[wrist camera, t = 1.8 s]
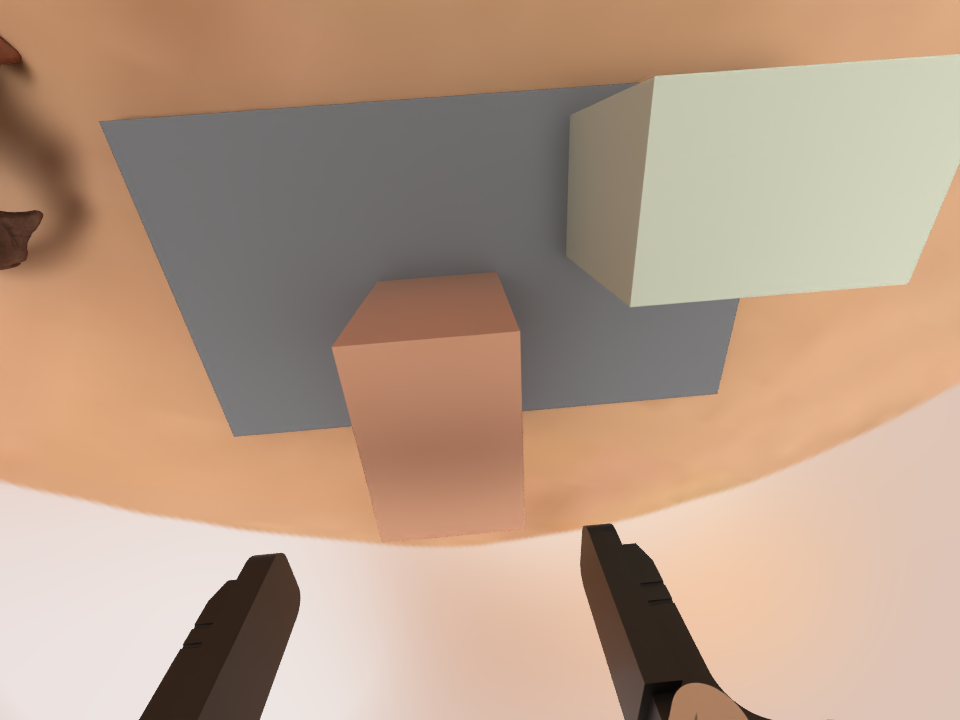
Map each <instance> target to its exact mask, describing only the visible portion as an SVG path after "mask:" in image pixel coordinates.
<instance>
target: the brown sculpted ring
mask: <svg viewBox="0 0 960 720" xmlns="http://www.w3.org/2000/svg"><path fill="white" fill-rule="evenodd" d="M20 60H21V56H20V54H19V53H18V52H17V51H16V50H15V49H14V48H13V47H12V46H10V45H9V44H7V43H6V42H5V41H3V40H2V39H1V38H0V65H1V64H10V63H14V62H19V61H20ZM42 218H43V213H42V212H40V211H37V210H33V211H28V212H3V211H0V270H4V269H8V268H13V267H16V266H19V265H20V264H21V263H20V262H23V261H25V260H26V259H27V255H28V251H27V243H28V240H29V238H30V237H31V234H32V233H33V232H34V231H35V230H36V229H37V227H38V226H39V224H40V222H41V220H42Z"/></svg>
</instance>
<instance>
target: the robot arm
mask: <svg viewBox="0 0 960 720" xmlns="http://www.w3.org/2000/svg"><path fill="white" fill-rule="evenodd" d="M580 566H581V576H582V581H583V585H584V589H585V592H586V595H587V599H588V602H589V605H590V609H591V612H592V615H593V618H594V621H595V625H596V628H597V631H598V634H599V638H600V641H601V644H602V647H603V651H604V654H605V657H606V660H607V664H608V667H609V670H610V673H611V677H612V680H613V683H614V686H615V690H616V693H617V696H618V699H619V702H620V706H621V709H622V712H623V715H624V719H625V720H770V719H766V718H764V717H761V716H758V715H756V714H753V713H751V712H750V711H748V710H746V709H745V708H743V707H741V706H740V705H739V704H737V703H736V702H734V701H733V700H732V699H731V698H730V697H729V696H728V695H727V694H726V693H725V692H724V691H723V690H722V689H721V688H720V687H719V685H718V684H717V683H716V681H715V680H714V679H713V677H712V675H711V674H710V672H709V670H708V668H707V666H706V664H705V662H704V660H703V658H702V656H701V655H700V652H699V650H698V649H697V647H696V645H695V643H694V641H693V639H692V637H691V635H690V633H689V631H688V629H687V627H686V625H685V623H684V621H683V619H682V617H681V615H680V613H679V611H678V609H677V607H676V605H675V603H673V601H672V597H671V596H670V593H669V592H668V590H667V588H666V586H665V585H664V584H663V580H662V578H661V576H660V574H659V572H658V570H657V568H656V566H655V564H654V562H653V560H652V559H651V558H650V557H649V556H648V555H647V554H646V553H645V552H644V551H643V550H642V549H641V548H639V546H638V545H637V544H636V543H635V544H624V545H622V543H621V541H620V538H619V536H618V534H617V532H616V530H615V528H614V526H613V525H612V524H599V525H589V526H583V529H582V544H581V560H580ZM299 606H300V590H299V587H298V585H297V582H296V579H295V577H294V575H293V572H292V570H291V567H290V565H289V562H288V560H287V558H286V556H285V554H283V553H276V554H266V555H255V556H252V557H250V558H249V559H248V560H247V562H246V563H245V566H244V567H243V569H242V571H241V573H240V574H239V576H238V578H237V580H229V581H227V582H226V583H225V584H224V585H223V586H222V587H221V589H220V590H219V591H218V592H217V593H216V594H215V595H214V596H213V597H212V598H211V599H210V600H209V601H208V603H207V604H206V606H205V608H204V609H203V611H202V613H201V615H200V616H199V618H198V620H197V621H196V623H195V628H194V629H192V630H191V632H190V634H189V635H188V637H187V639H186V640H185V642H184V644H183V648H182V649H180V651H179V653H178V654H177V656H176V657H175V659H174V661H173V663H172V664H171V666H170V668H169V670H168V671H167V673H166V675H165V676H164V678H163V680H162V682H161V683H160V685H159V687H158V688H157V690H156V692H155V694H154V695H153V697H152V699H151V700H150V702H149V704H148V705H147V707H146V709H145V711H144V712H143V714H142V716H141V717H140V719H139V720H260V717H261V715H262V712H263V709H264V706H265V703H266V701H267V698H268V695H269V692H270V689H271V687H272V684H273V681H274V678H275V676H276V673H277V670H278V667H279V665H280V662H281V659H282V656H283V654H284V651H285V648H286V645H287V643H288V640H289V637H290V634H291V632H292V628H293V626H294V623H295V621H296V618H297V615H298V611H299Z"/></svg>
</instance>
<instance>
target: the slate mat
mask: <svg viewBox="0 0 960 720" xmlns="http://www.w3.org/2000/svg"><path fill="white" fill-rule="evenodd" d="M639 83H641V82H639ZM639 83H625V84H611V85H597V86H584V87H570V88H556V89H542V90H528V91H514V92H500V93H487V94H473V95H459V96H445V97H431V98H417V99H403V100H390V101H376V102H362V103H348V104H334V105H320V106H306V107H293V108H279V109H265V110H251V111H237V112H223V113H210V114H196V115H182V116H168V117H154V118H140V119H126V120H113V121H99V122H100V125H101V127H102V129H103V132H104V134H105V136H106V139H107V141H108V143H109V146H110V148H111V150H112V153H113V155H114V157H115V160H116V162H117V164H118V167H119V169H120V171H121V174H122V176H123V178H124V181H125V183H126V185H127V188H128V190H129V192H130V195H131V197H132V199H133V202H134V204H135V206H136V209H137V211H138V213H139V216H140V218H141V220H142V223H143V225H144V227H145V230H146V232H147V234H148V237H149V239H150V241H151V244H152V246H153V248H154V251H155V253H156V255H157V258H158V260H159V262H160V265H161V267H162V269H163V272H164V274H165V276H166V279H167V281H168V283H169V286H170V288H171V290H172V293H173V295H174V297H175V300H176V302H177V304H178V307H179V309H180V311H181V314H182V316H183V318H184V321H185V323H186V325H187V328H188V330H189V332H190V335H191V337H192V339H193V342H194V344H195V346H196V349H197V351H198V353H199V356H200V358H201V360H202V363H203V365H204V367H205V370H206V372H207V374H208V377H209V379H210V381H211V384H212V386H213V388H214V391H215V393H216V395H217V398H218V400H219V402H220V405H221V407H222V409H223V412H224V414H225V416H226V419H227V421H228V423H229V426H230V428H231V430H232V433H233V435H234V437H237V436H248V435H259V434H270V433H282V432H293V431H304V430H316V429H327V428H338V427H349V426H352V424H351V420H350V416H349V412H348V408H347V405H346V401H345V397H344V393H343V389H342V385H341V382H340V378H339V374H338V370H337V366H336V362H335V358H334V355H333V351H332V346H333V344H334V343H335V342H336V340H337V339H338V337H339V336H340V334H341V333H342V331H343V330H344V329H345V327H346V326H347V324H348V323H349V321H350V320H351V318H352V317H353V316H354V314H355V313H356V311H357V310H358V308H359V307H360V306H361V304H362V303H363V301H364V300H365V298H366V297H367V295H368V294H369V293H370V291H371V290H372V288H373V287H374V285H375V284H376V282H377V281H390V280H402V279H414V278H427V277H439V276H451V275H463V274H476V273H488V272H497V274H498V276H499V279H500V282H501V284H502V287H503V289H504V292H505V294H506V297H507V299H508V302H509V304H510V307H511V309H512V312H513V314H514V317H515V319H516V322H517V325H518V327H519V330H520V346H521V387H522V411H530V410H541V409H553V408H564V407H575V406H587V405H598V404H609V403H620V402H632V401H643V400H654V399H666V398H677V397H688V396H699V395H711V394H717V393H718V388H719V384H720V380H721V375H722V371H723V367H724V363H725V358H726V354H727V350H728V346H729V341H730V337H731V333H732V329H733V324H734V320H735V316H736V311H737V307H738V303H739V299H740V298H734V299H722V300H710V301H698V302H686V303H674V304H662V305H650V306H639V307H629V306H628V305H627V304H625V303H624V302H623V301H622V300H620V299H619V298H618V297H617V296H615V295H614V294H613V293H612V292H610V291H609V290H608V289H607V288H605V287H604V286H603V285H602V284H600V283H599V282H598V281H597V280H595V279H594V278H593V277H592V276H590V275H589V274H588V273H587V272H585V271H584V270H583V269H581V268H580V267H579V266H578V265H576V264H575V263H574V262H573V261H571V260H570V259H569V258H568V257H566V238H567V204H568V170H569V135H570V115H572V114H574V113H576V112H578V111H580V110H583V109H585V108H587V107H589V106H591V105H593V104H596V103H598V102H600V101H602V100H604V99H606V98H609V97H611V96H613V95H615V94H617V93H619V92H621V91H624V90H626V89H628V88H630V87H632V86H634V85H637V84H639Z"/></svg>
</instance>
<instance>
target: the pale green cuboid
mask: <svg viewBox="0 0 960 720" xmlns="http://www.w3.org/2000/svg"><path fill="white" fill-rule="evenodd" d="M959 163H960V54H954V55H940V56H926V57H912V58H899V59H885V60H871V61H857V62H843V63H829V64H815V65H801V66H787V67H773V68H760V69H746V70H732V71H718V72H704V73H690V74H676V75H662V76H654V77H652V78H649V79H647V80H645V81H643V82H641V83H639V84H637V85H634V86H632V87H630V88H628V89H626V90H624V91H621V92H619V93H617V94H615V95H613V96H611V97H609V98H606V99H604V100H602V101H600V102H598V103H596V104H593V105H591V106H589V107H587V108H585V109H583V110H580V111H578V112H576V113H574V114H572V115H570V135H569V170H568V204H567V238H566V257H568V258H569V259H570V260H571V261H573V262H574V263H575V264H576V265H578V266H579V267H580V268H581V269H583V270H584V271H585V272H587V273H588V274H589V275H590V276H592V277H593V278H594V279H595V280H597V281H598V282H599V283H600V284H602V285H603V286H604V287H605V288H607V289H608V290H609V291H610V292H612V293H613V294H614V295H615V296H617V297H618V298H619V299H620V300H622V301H623V302H624V303H625V304H627V305H628V306H629V307H639V306H650V305H662V304H674V303H686V302H698V301H710V300H722V299H734V298H746V297H758V296H770V295H782V294H794V293H806V292H818V291H830V290H842V289H854V288H865V287H877V286H889V285H901V284H908V283H909V280H910V278H911V276H912V273H913V271H914V269H915V266H916V264H917V262H918V259H919V257H920V255H921V252H922V250H923V248H924V245H925V243H926V240H927V238H928V236H929V233H930V231H931V229H932V226H933V224H934V222H935V219H936V217H937V215H938V212H939V210H940V208H941V205H942V203H943V200H944V198H945V196H946V193H947V191H948V189H949V186H950V184H951V182H952V179H953V177H954V175H955V172H956V170H957V168H958V165H959Z"/></svg>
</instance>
